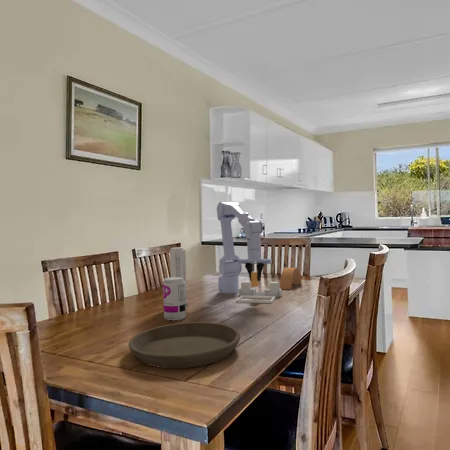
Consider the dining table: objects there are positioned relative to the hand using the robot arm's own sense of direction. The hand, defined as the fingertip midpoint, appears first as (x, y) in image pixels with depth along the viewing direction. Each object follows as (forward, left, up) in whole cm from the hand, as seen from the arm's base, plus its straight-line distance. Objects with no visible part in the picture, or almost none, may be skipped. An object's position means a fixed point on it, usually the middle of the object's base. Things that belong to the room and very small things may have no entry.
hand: (255, 280), depth 172 cm
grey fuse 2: (+6, +11, -8) cm, 15 cm away
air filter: (-30, -13, -10) cm, 34 cm away
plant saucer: (-6, -64, -10) cm, 65 cm away
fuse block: (-1, +11, -9) cm, 14 cm away
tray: (0, 0, -9) cm, 9 cm away
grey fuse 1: (-7, +11, -8) cm, 15 cm away
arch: (+10, +37, -10) cm, 40 cm away
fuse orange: (0, 0, -2) cm, 2 cm away
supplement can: (-24, -31, -10) cm, 40 cm away
